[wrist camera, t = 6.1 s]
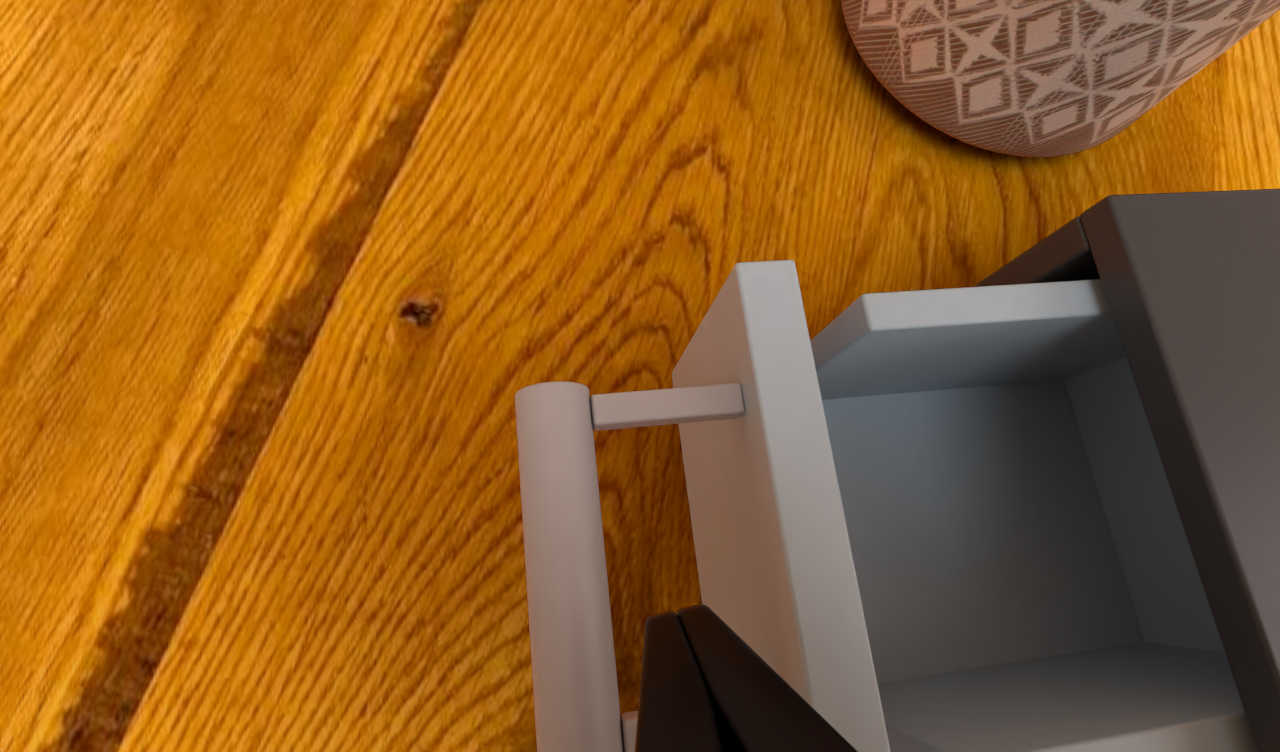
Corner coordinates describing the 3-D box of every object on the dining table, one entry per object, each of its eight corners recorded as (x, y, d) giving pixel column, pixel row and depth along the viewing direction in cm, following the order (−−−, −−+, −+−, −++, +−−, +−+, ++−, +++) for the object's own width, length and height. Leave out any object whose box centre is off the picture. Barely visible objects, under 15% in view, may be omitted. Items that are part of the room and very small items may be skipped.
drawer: (552, 792, 16) (547, 974, 9) (524, 383, 18) (503, 273, 11) (1150, 690, 18) (1518, 767, 11) (1046, 343, 21) (1289, 232, 14)
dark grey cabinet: (971, 734, 18) (1351, 889, 9) (883, 345, 21) (1108, 193, 13) (1367, 665, 20) (1980, 741, 11) (1233, 319, 23) (1635, 173, 15)
